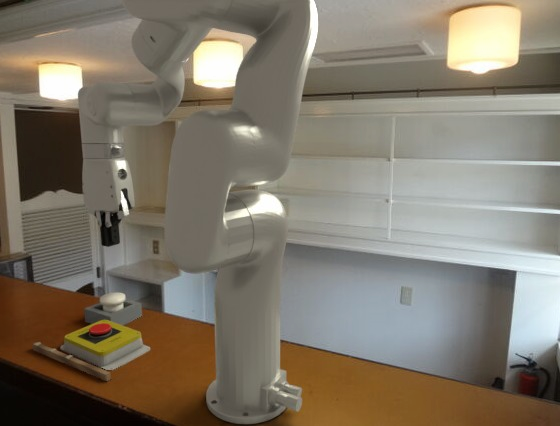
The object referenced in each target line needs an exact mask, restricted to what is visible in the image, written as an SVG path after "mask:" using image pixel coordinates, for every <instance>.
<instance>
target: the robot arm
mask: <svg viewBox="0 0 560 426" xmlns="http://www.w3.org/2000/svg"><path fill="white" fill-rule="evenodd" d="M120 1H121V3H122V6H123V8H124V9H125V10H126V11H127V12H126V13H129V15H131V16H132V17H134V18H136V19H140V22H139V24H138V26H137V27H136V29H135V30H134V32H133V34H132V36H131V47H132V51H133V53H134V55H135V57H136V58H137V60H138V62H140V64H142V65H143V67H145V68H146V69H147V70H148V71H150V72H151V73H152V74H154V75H156V76H157V78H155V79H154V81H153V82H152V83H151V84H144V83H130V82H118V81H117V82H115V81H99V82H96V83H94V84H92V85H86V86H82V87H81V88H79V90H78V92H77V100H78V101H77V103H78V113H79V125H80V137H81V150H82V159H83V160H82V173H81V174H82V178H81V179H82V181H81V182H82V196H83V197H82V199H83V204H84V206H85V207H86V208H87V209H88V213H89V214H90V215H92V216H94V217H95V218H96V222H97V225H98V226H99V228H100V242H101V246H102V247H113V246H116V245H119V244H120V243H121V241H120V240H121V239H120V225H121V223H122V220H123V219H127V218H130V210H133V209H134V208H135V205H136V204H135V191H134V185H133V177H132V171H131V168H130V165H129V161H128V160H127V159H126V157H125V156H126V155H125V153H126V151H125V143H124V142H125V141H124V127H153V126H157V125H160V124H162V123H163V122H164V121H166V120H167V119H168V118H169V117H170V116H171V115H172V113H173V112H174V111H175V110H176V108H178V106H179V105H180V104H181V101H182V100H183V96H184V92H185V81H186V80H185V73H184V68H183V67H184V65H185V64H186V63H187V61H188V60H189V59H190V58H191V57H192V55H193V54H194V53H195V51H196V50H197V49H198V48H199V46H200V45H201V43H202V42H203V41H204V39H206V37H207V36H208V35H209V33H210V32H211V31H212V30H213V29H214V30H215V29H216V30H221V31H226V32H229V33H237V34H243V35H247V36H250V37H252V38H254V39H255V42H254V43H253V45H252V46H251V47H250V48H249V49H248V50H247V52H246V54H245V55H244V57H243V59H242V61H241V62H240V65H239V67H238V69H237V71H236V72H237V73H236V75H235V76H236V77H235V81H234V82H235V83H234V92H233V97H232V101H231V102H232V103H231V104H230V105H231V106H230V108H229V109H204V110H199V111H196V112H193V113H191V114H190V115H189V116H187V117H186V118H185V119H184V120H183V121H182V122H181V124H180V125H179V126H178V128H177V131H176V132H175V135H174V138H173V141H172V144H171V151H170V156H169V157H170V158H169V169H168V176H167V177H168V179H167V190H166V200H165V210H164V221H163V222H164V223H163V224H164V225H163V227H164V228H163V233H164V235H163V236H164V244H165V249H166V252H167V255H168V257H169V259H170V260H171V262H172V263H173V265H174V266H175V267H176V268H178V270H181V272H184V273H186V274H195V275H199V274H205V273H209V272H213V271H217V274H216V278H215V283H214V290H213V291H214V292H213V295H214V296H213V297H214V298H213V300H214V301H213V304H214V305H213V306H214V307H213V308H214V344H215V345H214V346H215V347H214V348H215V350H214V351H215V379H214V380H213V381H212V382H211V383H210V384H209V385H208V387H207V389H206V393H205V398H206V406H207V408H208V410H209V411H210V413H212V414H213V415H214V416H215V417H216V418H218V419H220V420H222V421H225V422H229V423H232V424H236V425H237V424H238V425H254V424H259V423H264V422H267V421H270V420H272V419H274V418H276V417H277V416H279V415H281V414H282V413H283V412H284V411H285V410H286V409H289V410H291V411H294V412H297V413H298V412H299V411H300V410H301V408H302V405H303V397H301V396H302V393H303V388H302V387H300V386H297V385H294V384H293V385H292V384H290V383H289V382H288V381H287V370H285V369H282V368H281V301H282V299H281V295H282V294H281V292H282V291H281V290H282V289H281V287H282V269H283V262H284V261H283V260H284V255H285V250H286V245H287V239H288V231H289V220H288V214H287V212H286V209H285V206H284V204H283V203H282V202H281V200H280V199H278V197H277V196H275V195H274V194H272V193H270V192H269V191H266V190H262V189H253V188H252V189H242V188H247V187H254V186H255V187H256V186H260V185H266V184H268V183H273V182H276V181H278V180H279V179H280V178H282V177H283V176H284V175H285V174H286V172H287V170H288V167H289V164H290V161H291V156H292V154H293V153H292V151H293V147H294V143H295V142H294V141H295V136H296V130H297V126H298V125H297V124H298V121H299V115H300V111H301V106H302V99H303V91H304V88H305V82H306V77H307V74H308V71H309V67H310V63H311V60H312V56H313V53H314V49H315V47H316V46H315V45H316V42H317V37H318V27H319V20H318V19H319V18H318V10H317V7H316V3H315V1H314V0H120ZM239 188H241V190H235V191H230V190H234V189H239Z"/></svg>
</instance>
